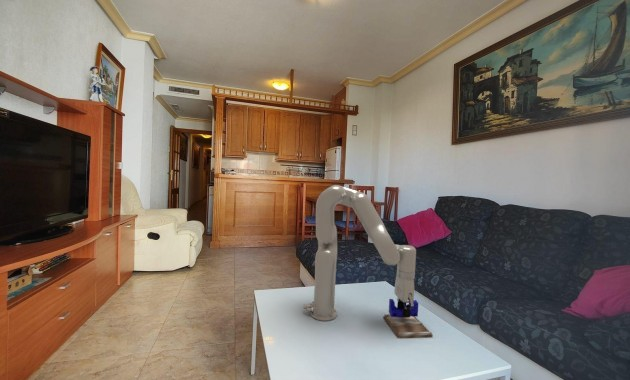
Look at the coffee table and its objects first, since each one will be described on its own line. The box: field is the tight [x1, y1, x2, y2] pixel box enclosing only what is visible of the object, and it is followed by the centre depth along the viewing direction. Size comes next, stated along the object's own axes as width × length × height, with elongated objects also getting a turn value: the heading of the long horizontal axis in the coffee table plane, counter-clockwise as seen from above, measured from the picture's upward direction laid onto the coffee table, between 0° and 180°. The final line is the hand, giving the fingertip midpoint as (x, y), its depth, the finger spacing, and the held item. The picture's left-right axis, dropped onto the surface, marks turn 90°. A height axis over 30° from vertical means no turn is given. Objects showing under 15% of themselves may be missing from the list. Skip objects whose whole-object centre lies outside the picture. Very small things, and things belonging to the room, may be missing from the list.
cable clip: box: [388, 298, 419, 318], centre depth 117 cm, size 12×4×6 cm, turn 89°
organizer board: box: [382, 313, 433, 339], centre depth 114 cm, size 15×15×2 cm
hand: (403, 313), depth 117 cm, fingers closed on cable clip, 4 cm apart
